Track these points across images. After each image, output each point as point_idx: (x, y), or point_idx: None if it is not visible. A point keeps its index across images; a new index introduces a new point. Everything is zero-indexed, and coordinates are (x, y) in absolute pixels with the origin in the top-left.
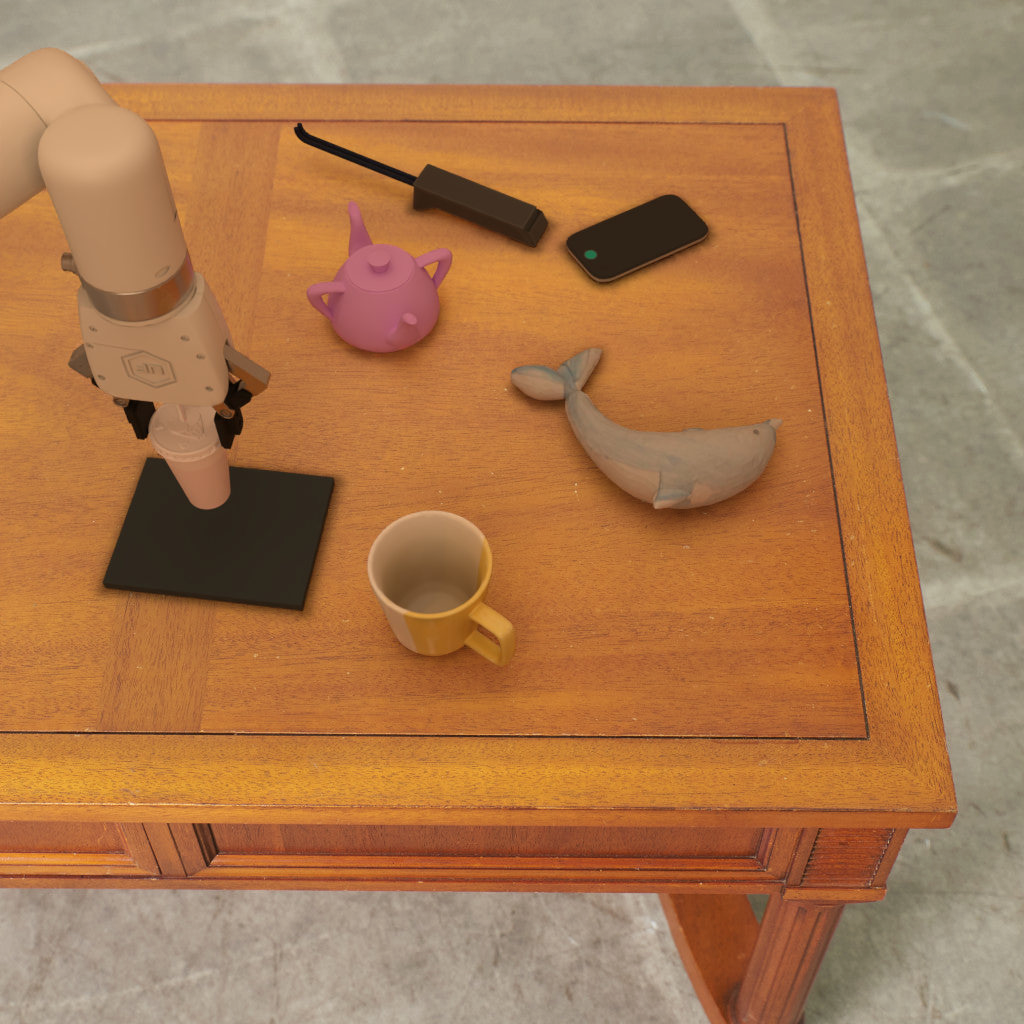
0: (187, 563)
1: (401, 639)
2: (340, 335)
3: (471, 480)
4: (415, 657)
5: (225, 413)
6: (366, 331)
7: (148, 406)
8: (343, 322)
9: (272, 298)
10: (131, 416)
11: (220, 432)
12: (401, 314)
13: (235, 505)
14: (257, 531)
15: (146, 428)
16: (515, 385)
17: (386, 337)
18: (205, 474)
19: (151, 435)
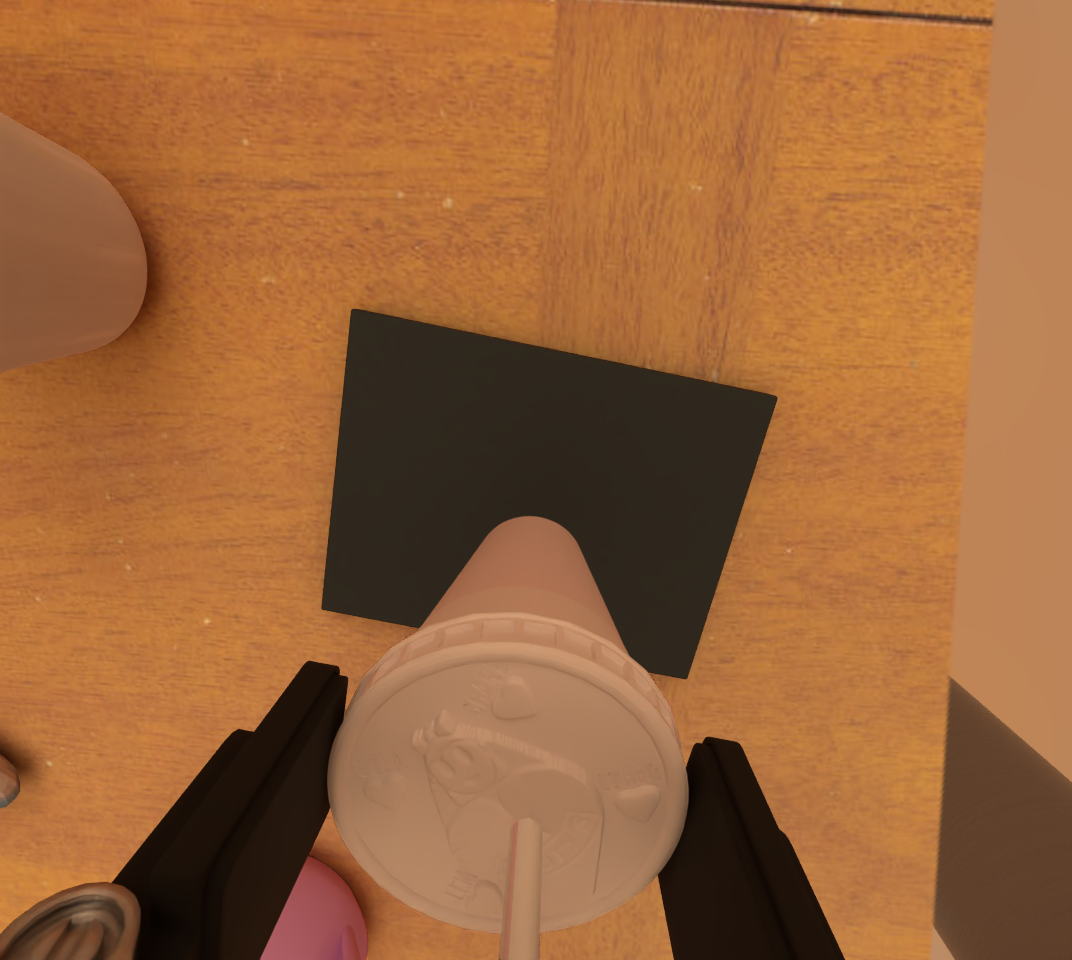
0: (599, 431)
1: (68, 154)
2: (336, 894)
3: (74, 587)
4: (108, 174)
5: (79, 942)
6: None
7: (691, 925)
8: (312, 931)
9: (477, 957)
10: (802, 921)
11: (264, 760)
12: None
13: None
14: (459, 498)
15: (698, 796)
16: (2, 773)
17: None
18: (479, 578)
19: (673, 759)
